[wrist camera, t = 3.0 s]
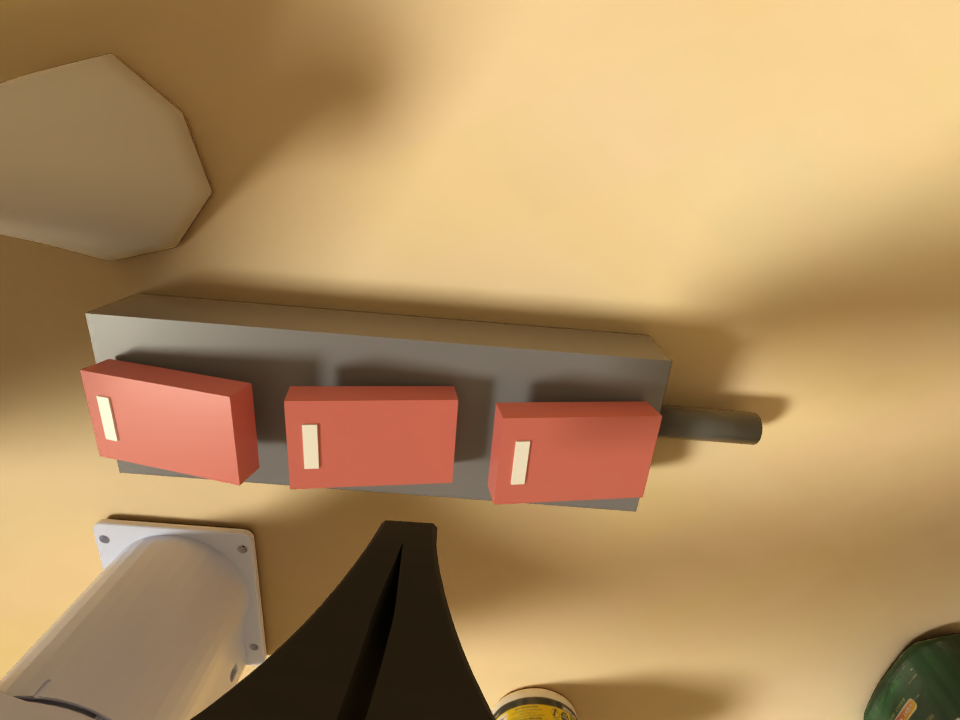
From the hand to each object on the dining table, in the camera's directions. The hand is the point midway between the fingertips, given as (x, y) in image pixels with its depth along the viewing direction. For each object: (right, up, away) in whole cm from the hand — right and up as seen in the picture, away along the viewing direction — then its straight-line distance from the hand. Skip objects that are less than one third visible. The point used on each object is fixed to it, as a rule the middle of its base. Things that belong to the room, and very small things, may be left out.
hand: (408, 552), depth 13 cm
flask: (-12, +13, +7) cm, 19 cm away
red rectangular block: (+5, +2, +6) cm, 8 cm away
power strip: (0, +3, +10) cm, 11 cm away
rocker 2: (-2, +2, +6) cm, 7 cm away
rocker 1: (-10, +3, +6) cm, 12 cm away
